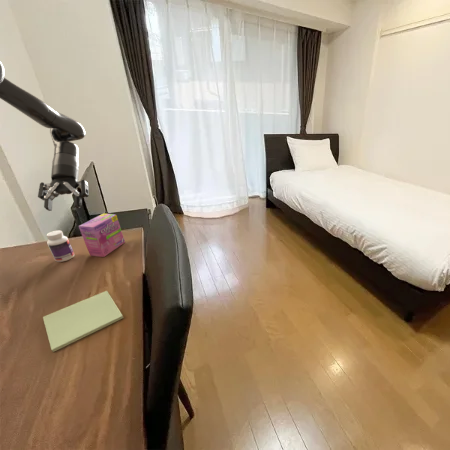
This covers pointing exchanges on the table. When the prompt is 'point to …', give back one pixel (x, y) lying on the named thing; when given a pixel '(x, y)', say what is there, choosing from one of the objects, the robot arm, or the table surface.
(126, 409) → the table surface
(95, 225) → the box
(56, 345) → the notepad
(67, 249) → the pill bottle
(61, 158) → the robot arm
